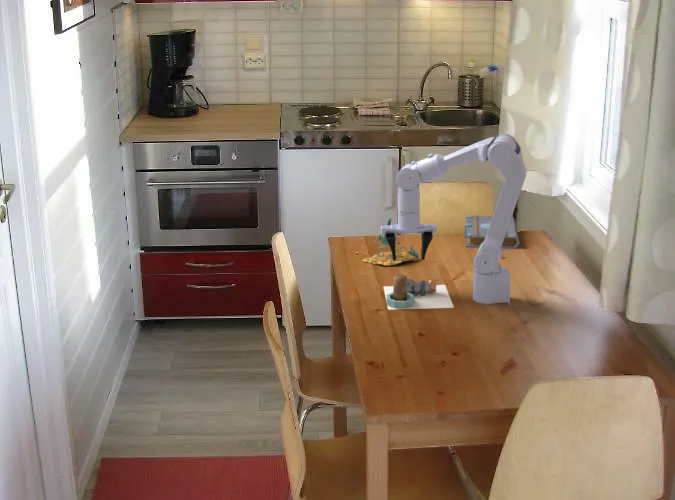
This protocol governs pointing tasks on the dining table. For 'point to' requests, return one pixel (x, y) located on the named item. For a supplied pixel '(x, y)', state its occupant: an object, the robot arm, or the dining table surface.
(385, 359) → the dining table surface
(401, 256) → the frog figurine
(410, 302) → the socket
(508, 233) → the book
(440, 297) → the board
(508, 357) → the dining table surface
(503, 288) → the robot arm
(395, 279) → the pin
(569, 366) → the dining table surface
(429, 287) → the grey ball-ended lever
